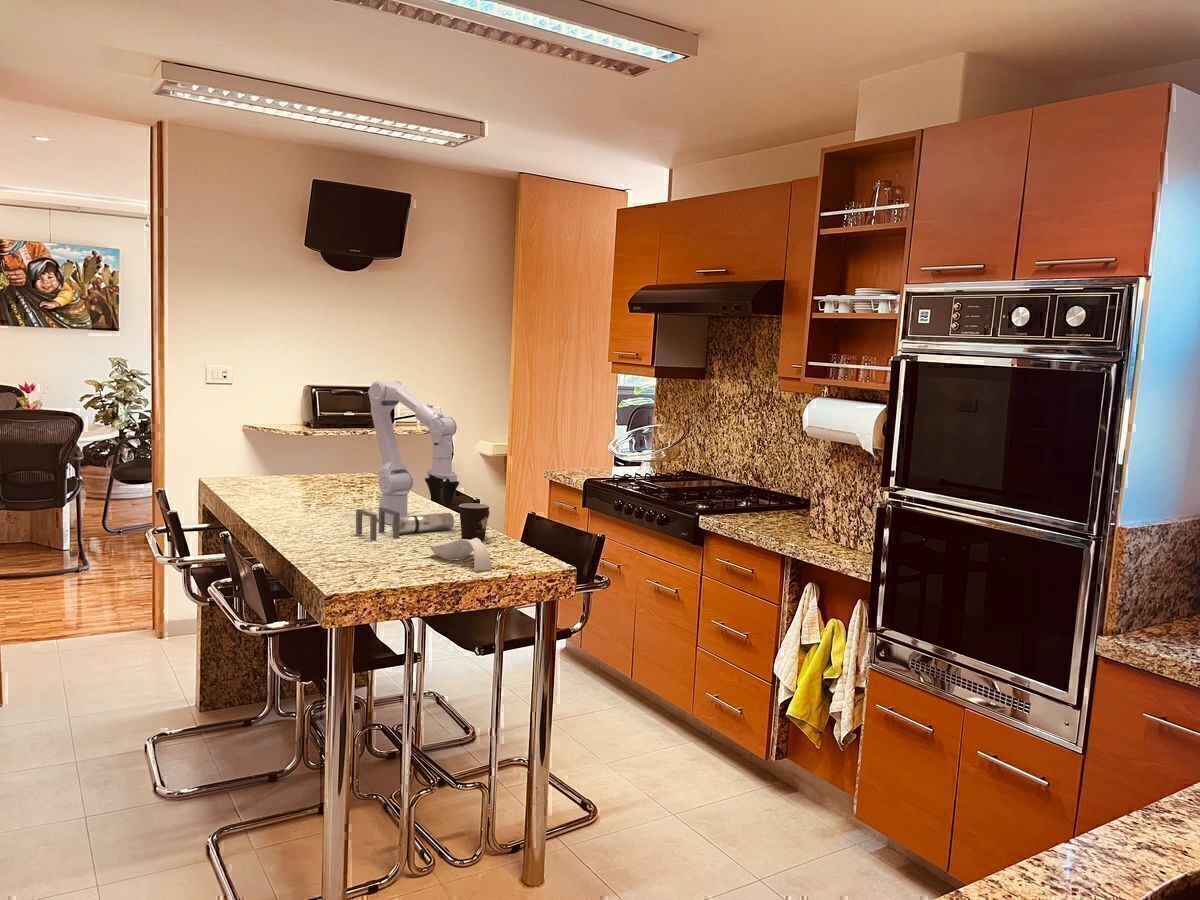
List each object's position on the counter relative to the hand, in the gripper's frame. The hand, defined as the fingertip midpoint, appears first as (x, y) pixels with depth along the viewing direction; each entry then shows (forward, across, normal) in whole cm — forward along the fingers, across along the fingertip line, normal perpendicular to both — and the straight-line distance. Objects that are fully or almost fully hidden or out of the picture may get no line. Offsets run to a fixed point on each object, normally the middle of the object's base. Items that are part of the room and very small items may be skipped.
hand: (441, 502), depth 270 cm
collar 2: (+8, 0, +17) cm, 19 cm away
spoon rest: (+9, -40, +16) cm, 44 cm away
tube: (+8, 0, +6) cm, 10 cm away
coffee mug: (+9, -18, -2) cm, 20 cm away
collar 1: (+8, 0, +24) cm, 25 cm away
